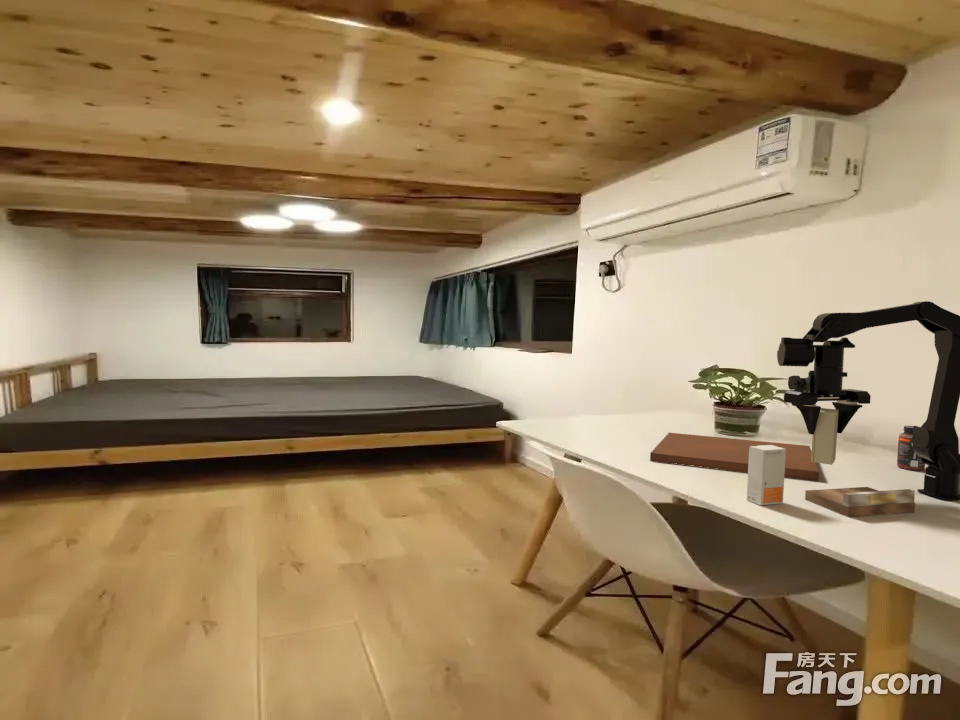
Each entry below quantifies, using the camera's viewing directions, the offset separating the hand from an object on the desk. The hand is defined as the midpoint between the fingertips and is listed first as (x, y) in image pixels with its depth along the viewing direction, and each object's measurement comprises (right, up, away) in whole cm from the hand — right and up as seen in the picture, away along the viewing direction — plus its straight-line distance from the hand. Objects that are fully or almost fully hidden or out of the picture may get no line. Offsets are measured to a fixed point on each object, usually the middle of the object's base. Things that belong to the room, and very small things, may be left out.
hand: (825, 433), depth 127 cm
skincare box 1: (-19, -14, -10) cm, 26 cm away
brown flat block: (-1, -14, -12) cm, 18 cm away
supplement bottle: (+35, -12, +19) cm, 42 cm away
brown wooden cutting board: (-8, -12, +30) cm, 33 cm away
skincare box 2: (0, -7, 0) cm, 7 cm away
